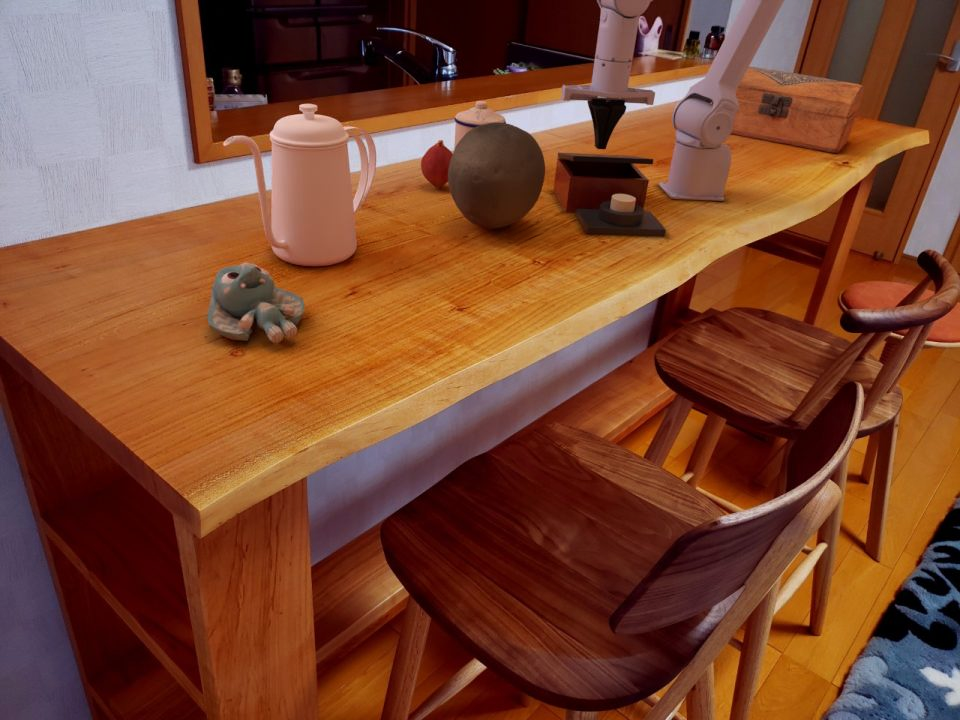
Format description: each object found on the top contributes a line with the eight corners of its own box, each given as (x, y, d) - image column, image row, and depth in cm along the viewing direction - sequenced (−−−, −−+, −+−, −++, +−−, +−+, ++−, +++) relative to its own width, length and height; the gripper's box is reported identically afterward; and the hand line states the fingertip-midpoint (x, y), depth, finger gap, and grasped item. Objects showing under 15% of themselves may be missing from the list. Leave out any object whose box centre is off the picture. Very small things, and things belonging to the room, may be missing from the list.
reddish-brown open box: (642, 215, 120) (649, 180, 117) (565, 213, 118) (570, 177, 116) (624, 194, 129) (630, 160, 126) (553, 191, 128) (557, 157, 125)
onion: (413, 186, 125) (414, 137, 120) (437, 180, 128) (439, 133, 124) (437, 195, 121) (439, 146, 117) (462, 189, 125) (465, 141, 121)
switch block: (648, 218, 119) (652, 200, 118) (664, 237, 112) (668, 218, 111) (575, 216, 118) (577, 197, 116) (586, 234, 111) (589, 215, 109)
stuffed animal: (237, 318, 70) (178, 254, 76) (237, 375, 75) (182, 310, 81) (334, 289, 77) (273, 233, 83) (329, 344, 81) (271, 286, 87)
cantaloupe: (430, 215, 113) (434, 113, 106) (514, 208, 118) (524, 111, 111) (465, 251, 102) (473, 140, 95) (556, 242, 108) (570, 136, 100)
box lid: (653, 164, 115) (653, 159, 115) (573, 161, 114) (573, 155, 114) (630, 160, 126) (631, 155, 126) (557, 157, 124) (557, 152, 124)
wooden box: (702, 129, 176) (716, 67, 169) (722, 118, 188) (736, 59, 181) (836, 156, 163) (857, 89, 156) (848, 142, 175) (868, 80, 168)
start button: (629, 206, 115) (632, 194, 114) (636, 214, 112) (638, 202, 111) (607, 205, 115) (609, 193, 114) (613, 213, 112) (615, 201, 111)
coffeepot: (206, 272, 91) (186, 113, 81) (344, 218, 109) (340, 84, 100) (272, 297, 86) (258, 132, 77) (403, 237, 105) (406, 98, 95)
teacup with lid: (474, 178, 131) (479, 109, 125) (441, 165, 136) (444, 98, 130) (523, 168, 138) (530, 103, 132) (490, 156, 143) (495, 93, 137)
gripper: (651, 57, 119) (636, 143, 126) (562, 51, 117) (551, 139, 124) (665, 65, 113) (648, 154, 120) (571, 59, 111) (560, 150, 118)
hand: (600, 147), depth 122 cm, fingers closed
